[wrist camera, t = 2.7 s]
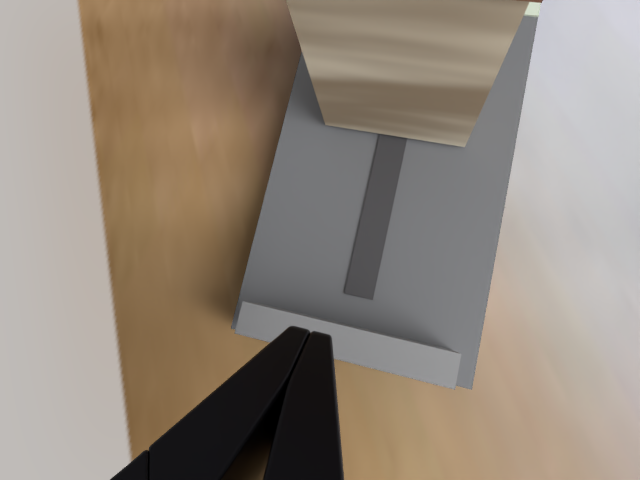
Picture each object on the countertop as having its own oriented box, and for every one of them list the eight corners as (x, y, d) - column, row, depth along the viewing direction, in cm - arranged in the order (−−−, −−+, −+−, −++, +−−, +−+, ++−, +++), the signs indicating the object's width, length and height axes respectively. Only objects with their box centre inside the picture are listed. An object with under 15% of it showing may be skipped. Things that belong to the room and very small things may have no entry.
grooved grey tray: (463, 382, 19) (484, 400, 15) (245, 327, 21) (208, 329, 17) (543, -65, 22) (581, -157, 18) (347, -80, 24) (338, -166, 20)
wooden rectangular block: (468, 152, 19) (558, -33, 9) (320, 128, 20) (254, -58, 10) (483, 77, 19) (583, -177, 9) (337, 58, 20) (290, -185, 10)
